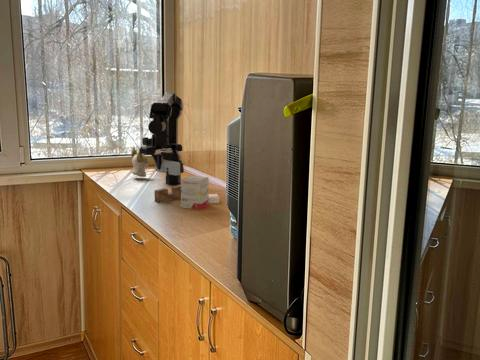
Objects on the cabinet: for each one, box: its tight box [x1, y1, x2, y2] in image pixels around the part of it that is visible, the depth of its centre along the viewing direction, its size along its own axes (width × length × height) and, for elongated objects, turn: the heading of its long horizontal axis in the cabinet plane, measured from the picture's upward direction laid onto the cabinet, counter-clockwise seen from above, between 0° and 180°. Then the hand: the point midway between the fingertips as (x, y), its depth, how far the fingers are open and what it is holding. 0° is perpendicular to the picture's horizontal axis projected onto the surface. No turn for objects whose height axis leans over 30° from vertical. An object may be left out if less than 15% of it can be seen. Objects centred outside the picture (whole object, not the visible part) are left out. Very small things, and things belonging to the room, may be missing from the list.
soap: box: [209, 193, 220, 204], centre depth 200 cm, size 9×6×3 cm, turn 101°
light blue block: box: [155, 159, 180, 175], centre depth 202 cm, size 2×13×5 cm, turn 48°
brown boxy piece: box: [154, 184, 181, 204], centre depth 201 cm, size 14×2×5 cm, turn 139°
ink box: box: [180, 175, 210, 210], centre depth 191 cm, size 9×9×12 cm
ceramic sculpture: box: [130, 146, 150, 178], centre depth 241 cm, size 11×9×15 cm
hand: (161, 169), depth 205 cm, fingers closed on light blue block, 2 cm apart
